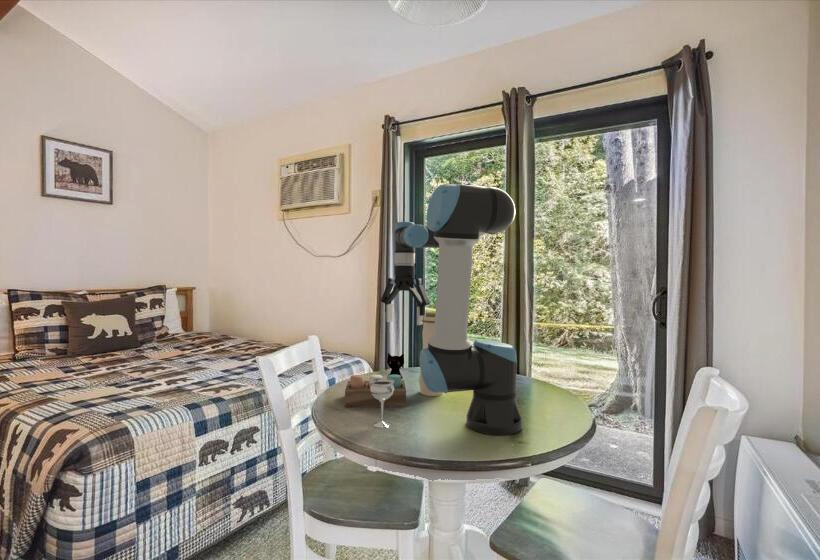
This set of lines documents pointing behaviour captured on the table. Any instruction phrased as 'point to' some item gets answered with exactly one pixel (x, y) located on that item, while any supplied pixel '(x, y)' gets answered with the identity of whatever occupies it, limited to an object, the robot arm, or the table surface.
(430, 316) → the water bottle
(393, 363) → the cat figurine
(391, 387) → the wineglass
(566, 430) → the table surface
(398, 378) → the teal button
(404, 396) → the console
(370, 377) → the ivory button
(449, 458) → the table surface
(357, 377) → the terracotta button
